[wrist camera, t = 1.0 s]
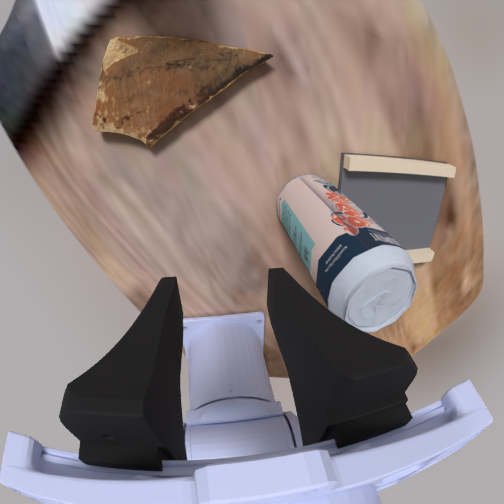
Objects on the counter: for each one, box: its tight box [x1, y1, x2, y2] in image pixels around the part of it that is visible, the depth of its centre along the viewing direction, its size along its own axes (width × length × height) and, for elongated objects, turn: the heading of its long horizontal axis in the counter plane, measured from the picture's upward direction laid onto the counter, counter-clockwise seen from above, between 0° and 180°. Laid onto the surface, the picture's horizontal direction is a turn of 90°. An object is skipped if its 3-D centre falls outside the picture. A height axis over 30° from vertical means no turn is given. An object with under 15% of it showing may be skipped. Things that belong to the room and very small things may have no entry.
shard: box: [92, 36, 273, 148], centre depth 17 cm, size 11×8×2 cm
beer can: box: [277, 175, 418, 332], centre depth 17 cm, size 5×5×12 cm
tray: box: [338, 153, 456, 264], centre depth 24 cm, size 10×12×2 cm
